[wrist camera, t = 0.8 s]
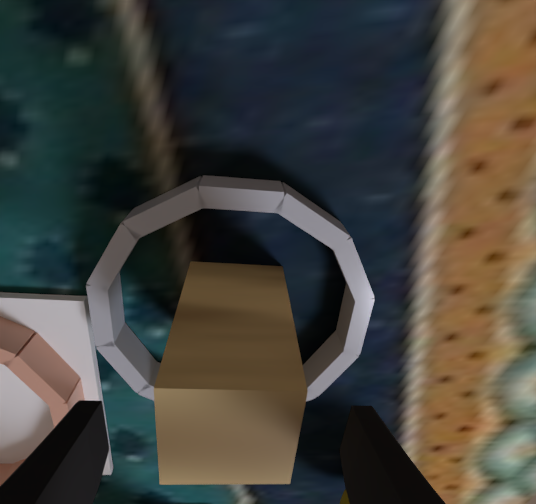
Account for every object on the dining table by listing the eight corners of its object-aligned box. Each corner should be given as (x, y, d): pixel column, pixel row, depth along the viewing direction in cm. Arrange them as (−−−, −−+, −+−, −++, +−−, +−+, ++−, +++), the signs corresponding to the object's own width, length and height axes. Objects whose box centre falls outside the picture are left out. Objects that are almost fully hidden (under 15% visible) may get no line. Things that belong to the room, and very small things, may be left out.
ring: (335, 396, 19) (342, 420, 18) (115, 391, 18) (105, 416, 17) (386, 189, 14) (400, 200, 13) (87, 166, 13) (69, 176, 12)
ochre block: (273, 337, 17) (289, 484, 11) (190, 334, 17) (159, 484, 11) (282, 266, 16) (307, 391, 9) (190, 261, 15) (153, 388, 9)
